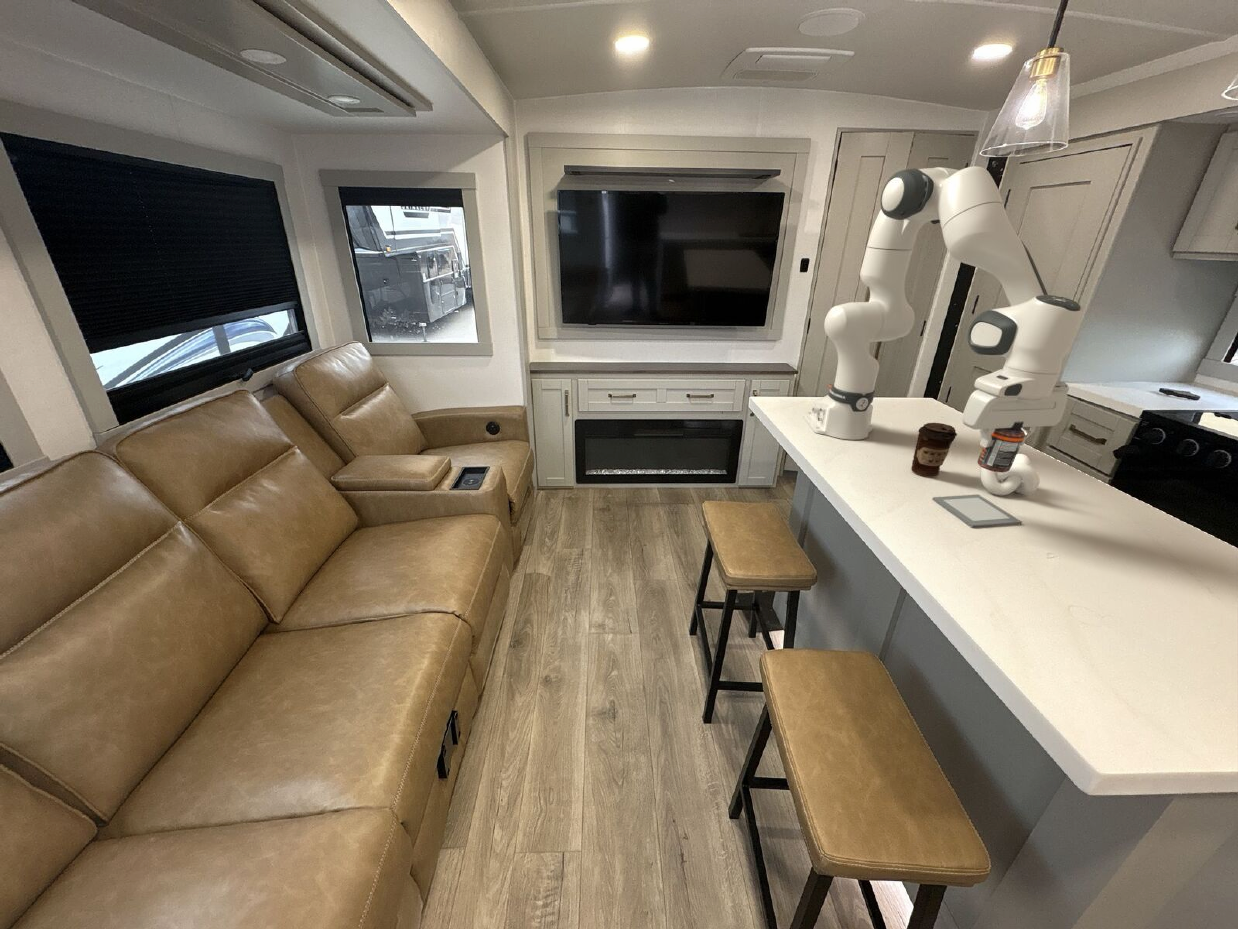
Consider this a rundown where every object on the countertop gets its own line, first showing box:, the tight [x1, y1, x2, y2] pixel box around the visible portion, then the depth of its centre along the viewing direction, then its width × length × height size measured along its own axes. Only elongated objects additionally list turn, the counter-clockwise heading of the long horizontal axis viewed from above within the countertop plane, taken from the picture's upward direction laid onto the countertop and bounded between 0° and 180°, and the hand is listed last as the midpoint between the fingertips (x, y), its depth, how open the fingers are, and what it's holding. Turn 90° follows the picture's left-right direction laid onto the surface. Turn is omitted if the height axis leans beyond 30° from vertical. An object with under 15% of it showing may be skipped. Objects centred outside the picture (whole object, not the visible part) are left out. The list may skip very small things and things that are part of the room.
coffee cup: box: [910, 422, 958, 478], centre depth 124 cm, size 9×8×13 cm
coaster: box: [931, 493, 1023, 529], centre depth 110 cm, size 12×12×1 cm
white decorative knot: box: [979, 453, 1041, 496], centre depth 118 cm, size 11×12×9 cm
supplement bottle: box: [977, 422, 1025, 473], centre depth 103 cm, size 6×6×11 cm
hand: (1000, 445), depth 103 cm, fingers closed on supplement bottle, 6 cm apart
